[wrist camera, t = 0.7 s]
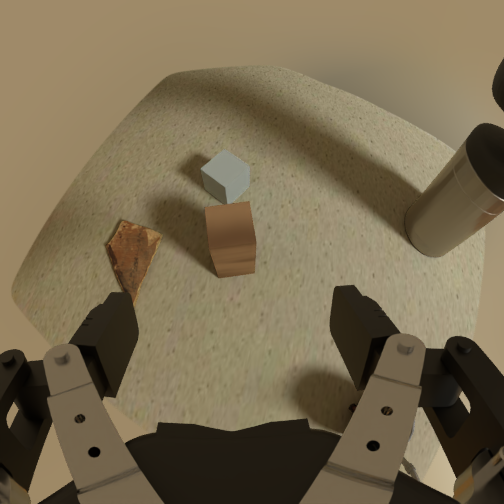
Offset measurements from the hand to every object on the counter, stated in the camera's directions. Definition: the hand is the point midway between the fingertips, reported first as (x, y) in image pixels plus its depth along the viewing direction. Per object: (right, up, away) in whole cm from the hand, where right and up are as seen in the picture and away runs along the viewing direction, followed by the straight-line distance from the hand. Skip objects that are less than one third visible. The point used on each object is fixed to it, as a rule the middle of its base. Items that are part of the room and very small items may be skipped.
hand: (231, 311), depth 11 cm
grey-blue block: (-3, +11, +31) cm, 33 cm away
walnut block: (-1, +1, +27) cm, 27 cm away
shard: (-14, +1, +28) cm, 31 cm away
